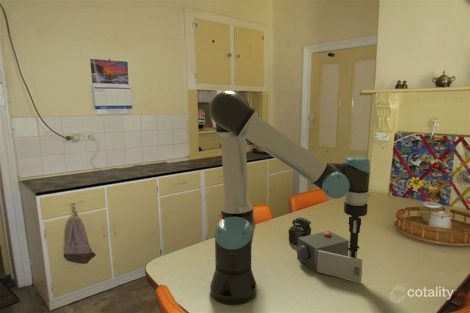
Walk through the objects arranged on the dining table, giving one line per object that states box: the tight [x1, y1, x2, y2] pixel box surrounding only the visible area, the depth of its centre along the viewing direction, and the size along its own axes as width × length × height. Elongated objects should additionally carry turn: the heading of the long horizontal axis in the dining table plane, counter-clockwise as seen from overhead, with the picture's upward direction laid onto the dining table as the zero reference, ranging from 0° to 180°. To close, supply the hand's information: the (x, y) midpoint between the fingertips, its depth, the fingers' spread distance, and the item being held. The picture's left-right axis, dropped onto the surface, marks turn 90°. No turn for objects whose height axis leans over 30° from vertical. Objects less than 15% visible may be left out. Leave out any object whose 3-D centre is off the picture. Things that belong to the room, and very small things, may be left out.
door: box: [313, 250, 363, 284], centre depth 113 cm, size 16×2×8 cm, turn 61°
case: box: [296, 230, 350, 270], centre depth 126 cm, size 18×11×10 cm, turn 116°
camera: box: [287, 216, 312, 246], centre depth 146 cm, size 13×10×10 cm
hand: (352, 266), depth 114 cm, fingers closed
